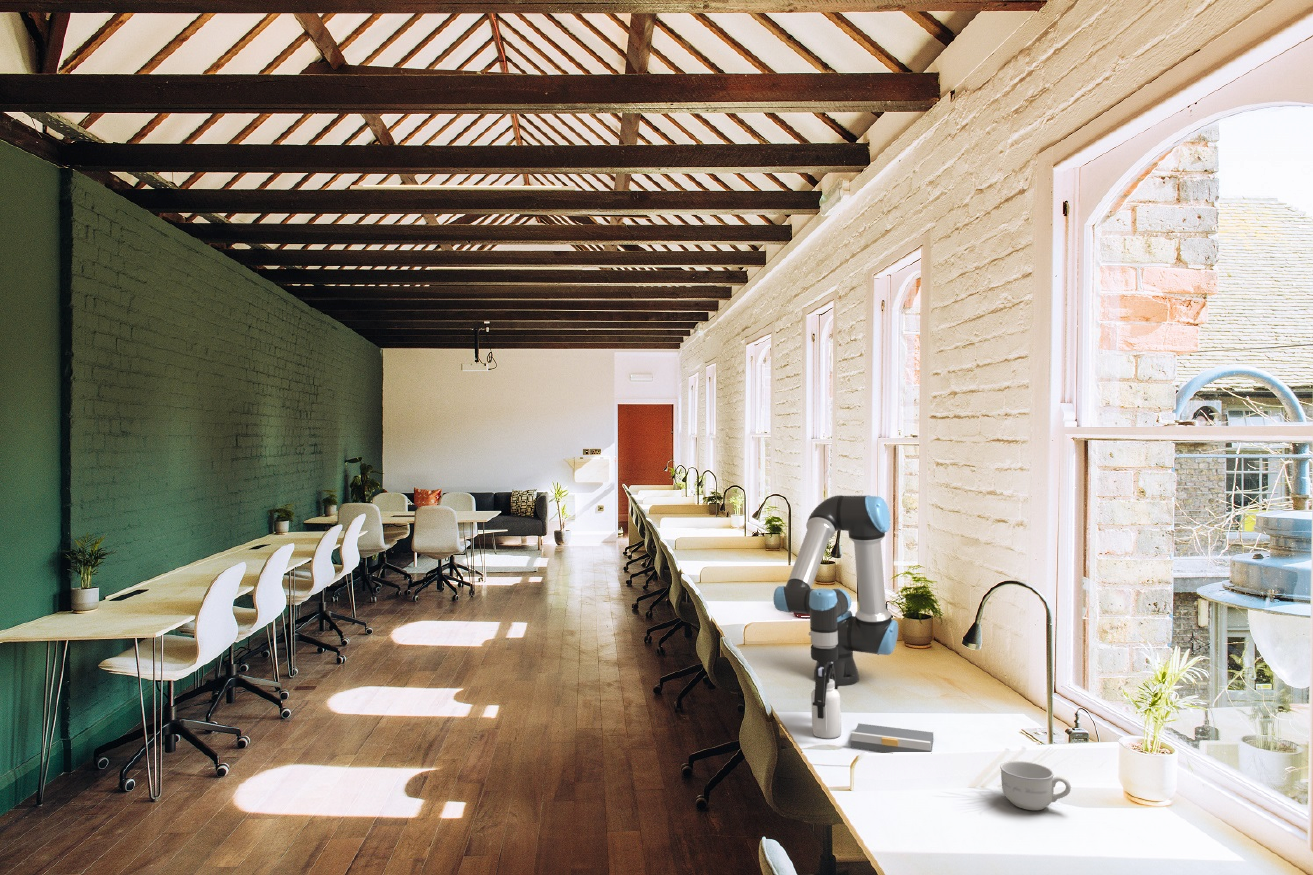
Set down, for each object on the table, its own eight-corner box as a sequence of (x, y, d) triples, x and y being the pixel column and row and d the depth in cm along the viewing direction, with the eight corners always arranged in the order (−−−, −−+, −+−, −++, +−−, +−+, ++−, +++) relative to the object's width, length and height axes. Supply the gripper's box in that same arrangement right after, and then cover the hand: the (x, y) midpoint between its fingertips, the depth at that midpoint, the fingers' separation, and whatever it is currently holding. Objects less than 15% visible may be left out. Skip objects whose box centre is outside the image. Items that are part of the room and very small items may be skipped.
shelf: (858, 730, 213) (858, 716, 213) (933, 739, 205) (933, 724, 205) (851, 748, 200) (850, 733, 200) (930, 759, 192) (930, 743, 192)
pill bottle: (820, 726, 217) (818, 674, 217) (846, 732, 211) (844, 679, 212) (807, 735, 210) (805, 681, 211) (833, 741, 205) (831, 686, 205)
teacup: (993, 804, 168) (992, 768, 168) (1012, 788, 176) (1011, 754, 176) (1061, 826, 158) (1059, 788, 158) (1077, 807, 166) (1076, 771, 166)
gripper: (819, 633, 224) (821, 704, 224) (801, 655, 201) (803, 734, 201) (845, 635, 221) (847, 707, 221) (829, 658, 198) (831, 738, 198)
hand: (826, 720), depth 211 cm, fingers open, 13 cm apart
